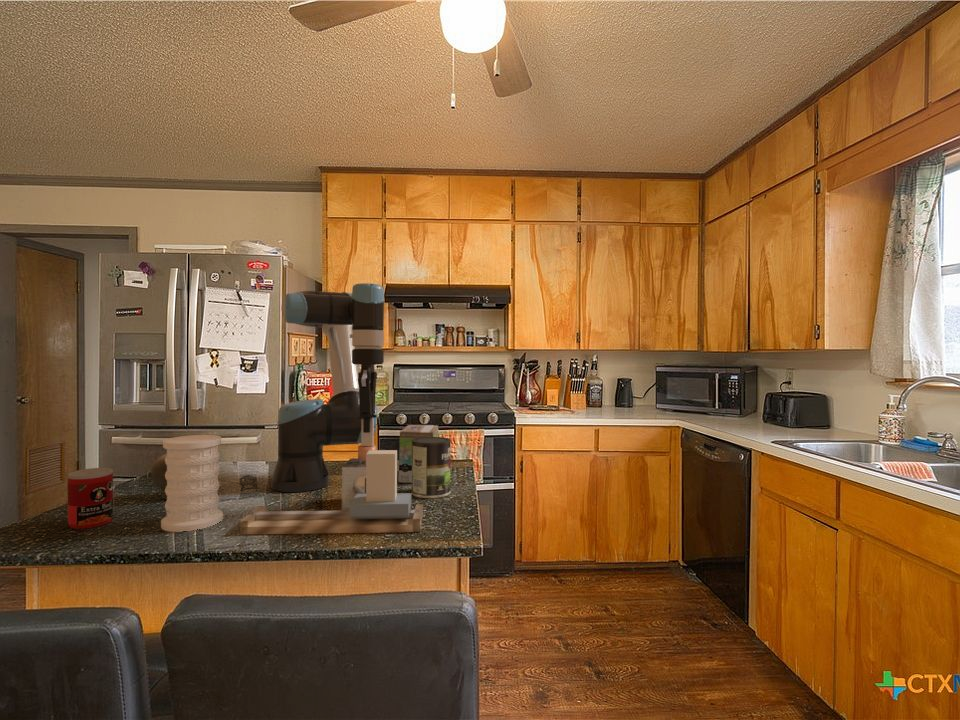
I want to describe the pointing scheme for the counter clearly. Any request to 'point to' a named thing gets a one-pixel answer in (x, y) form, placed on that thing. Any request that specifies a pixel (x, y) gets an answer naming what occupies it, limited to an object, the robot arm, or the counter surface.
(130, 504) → the counter surface
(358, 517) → the carriage
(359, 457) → the plunger
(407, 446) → the tea box
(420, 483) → the coffee can
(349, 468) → the box with ball knob
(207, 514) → the decorative container
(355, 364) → the robot arm
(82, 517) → the canned food
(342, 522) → the rail track
